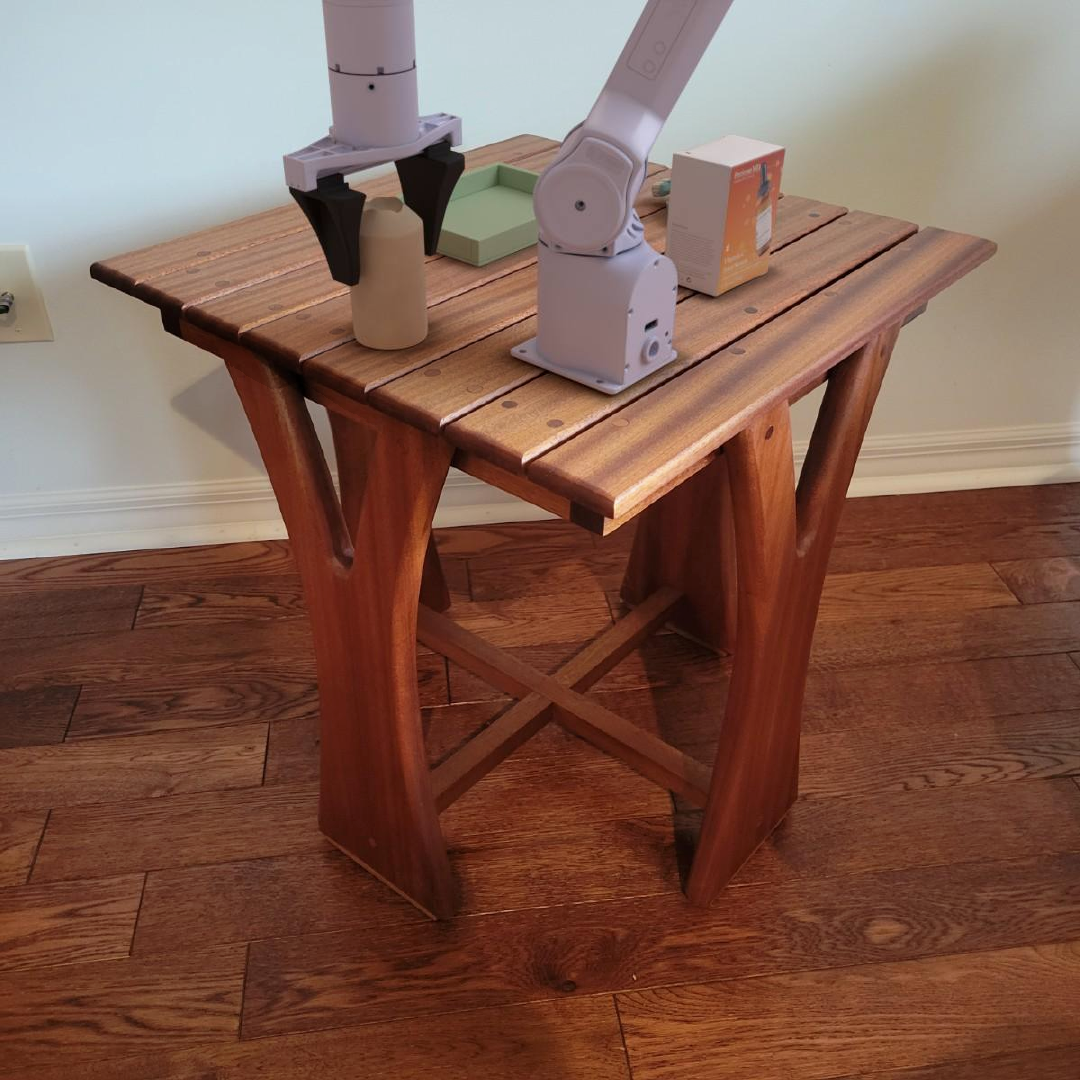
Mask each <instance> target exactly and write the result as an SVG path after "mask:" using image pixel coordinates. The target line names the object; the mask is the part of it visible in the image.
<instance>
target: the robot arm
mask: <svg viewBox="0 0 1080 1080" xmlns="http://www.w3.org/2000/svg"><path fill="white" fill-rule="evenodd" d="M734 2H735V0H647V1H646V4H645V6H644V7H643V10H642V11H641V13H640V15H639V18H637V21H636V23H635V25H634V27H633V29H632V30H631V32H630V34H629V36H628V38H627V40H626V42H625V45H624V47H623V49H622V50H621V52H620V54H619V55H618V58H617V60H616V62H615V64H614V66H613V68H612V70H611V72H610V74H609V76H607V77H608V78H607V80H606V82H605V83H604V85H603V87H602V89H601V91H600V92H599V94H598V96H597V98H596V100H595V102H594V103H593V105H592V107H591V109H590V111H589V113H588V114H587V116H586V118H585V119H584V120H582V121H580V122H578V123H577V124H576V125H574V126H573V127H572V128H571V129H570V130H569V131H568V133H567V134H566V135H565V137H564V138H563V141H562V142H561V144H560V146H559V150H558V152H557V153H556V155H555V156H554V157H553V159H552V160H551V162H549V163H548V164H547V165H546V166H544V168H543V169H542V171H541V172H540V173H541V174H540V175H539V177H538V179H537V181H536V184H535V187H534V191H533V209H534V214H535V217H536V220H537V222H538V224H539V225H538V243H537V260H536V261H537V262H536V263H537V265H536V266H537V273H536V279H537V280H536V335H535V336H534V337H532V338H529V339H527V340H525V341H523V342H521V343H519V344H517V345H515V346H513V347H512V348H510V355H511V356H512V357H514V358H516V359H519V360H521V361H524V362H525V363H526V362H527V363H529V364H531V365H534V366H537V367H539V368H542V369H543V370H547V371H549V372H552V373H554V374H557V375H559V376H561V377H565V378H567V379H569V380H572V381H575V382H577V383H580V384H582V385H585V386H587V387H590V388H592V389H595V390H597V391H600V392H602V393H605V394H607V395H616V394H619V393H620V392H622V391H624V390H626V389H627V388H629V387H630V386H632V385H633V384H635V383H637V382H639V381H640V380H642V379H644V378H645V377H647V376H649V375H651V374H653V373H654V372H656V371H657V370H659V369H661V368H662V367H664V366H666V365H667V364H669V363H671V362H673V361H675V360H676V359H678V352H677V350H675V349H673V342H674V332H675V321H676V320H675V319H676V309H677V300H678V299H677V298H678V289H679V288H678V287H679V286H678V276H677V271H676V267H675V265H674V263H673V262H672V260H670V259H669V258H667V257H665V256H664V255H663V254H661V253H660V252H658V251H657V250H655V249H653V247H652V246H651V245H649V243H648V242H647V240H646V239H645V238H644V237H645V226H644V224H643V223H641V219H640V217H639V215H638V213H637V211H636V208H635V207H633V206H634V203H635V201H636V199H637V196H638V194H639V193H640V191H642V188H643V186H644V184H645V183H646V180H647V177H648V171H649V155H650V153H651V151H652V149H653V147H654V145H655V143H656V141H657V139H658V137H659V136H660V134H661V132H662V130H663V128H664V126H665V124H666V122H667V121H668V119H669V117H670V115H671V113H672V111H673V109H674V108H675V106H676V104H677V103H678V101H679V99H680V97H681V95H682V94H683V92H684V90H685V88H686V87H687V85H688V83H689V81H690V79H691V78H692V76H693V74H694V72H695V71H696V69H697V67H698V65H699V63H700V62H701V60H702V58H703V57H704V55H705V53H706V51H707V49H708V47H709V46H710V44H711V42H712V40H713V39H714V37H715V35H716V33H717V32H718V30H719V28H720V26H721V24H722V23H723V21H724V19H725V18H726V15H727V14H728V12H729V10H730V9H731V6H732V5H733V3H734ZM321 4H322V15H323V16H322V17H323V29H324V40H325V50H326V61H327V73H328V83H329V93H330V94H329V95H330V105H331V107H330V108H331V116H332V117H331V118H332V125H330V126H329V127H328V135H325V136H324V137H321V138H319V139H318V140H316V141H314V142H312V143H310V144H309V145H307V146H305V147H303V148H301V149H299V150H296V151H294V152H293V151H292V152H290V153H287V154H284V155H283V156H282V163H283V170H284V178H285V179H284V180H285V186H287V187H288V192H289V195H291V197H292V198H293V200H294V201H295V202H296V203H297V205H298V206H299V208H300V209H301V211H302V212H303V214H304V216H305V217H306V219H307V220H308V222H309V224H310V226H311V228H312V230H313V231H314V233H315V235H316V238H317V239H318V243H319V245H320V247H321V249H322V252H323V255H324V257H325V260H326V263H327V266H328V269H329V271H330V275H331V277H332V281H335V282H338V283H341V284H342V285H345V286H348V287H350V286H355V285H358V284H359V280H360V250H359V235H360V224H361V217H362V212H363V207H364V204H365V202H366V200H367V196H368V195H367V194H366V193H365V192H362V191H359V190H355V189H352V188H350V183H349V182H348V181H346V182H345V177H346V176H349V175H353V174H356V173H360V172H363V171H366V170H370V169H372V168H376V167H379V166H383V165H386V164H389V163H394V166H395V169H396V172H397V175H398V179H399V183H400V187H401V193H403V198H404V203H405V205H406V206H408V207H409V208H410V209H411V210H412V211H414V212H415V213H416V214H417V215H418V216H419V217H420V218H421V219H422V221H423V235H424V256H427V257H432V256H435V255H437V252H436V251H437V246H438V242H439V237H440V232H441V228H442V223H443V220H444V216H445V212H446V209H447V205H448V203H449V200H450V197H451V195H452V192H453V190H454V188H455V186H456V184H457V182H458V180H459V178H460V176H461V174H462V173H464V171H465V169H466V155H465V154H464V153H461V152H458V151H455V150H451V148H456V147H459V146H462V145H463V121H462V119H463V118H462V117H461V116H458V115H454V114H450V113H446V112H443V111H441V112H437V113H434V114H433V113H432V114H428V115H421V116H420V114H419V95H418V94H419V93H418V67H417V66H418V65H417V51H416V49H417V48H416V47H417V46H416V29H415V6H414V0H321Z"/></svg>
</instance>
